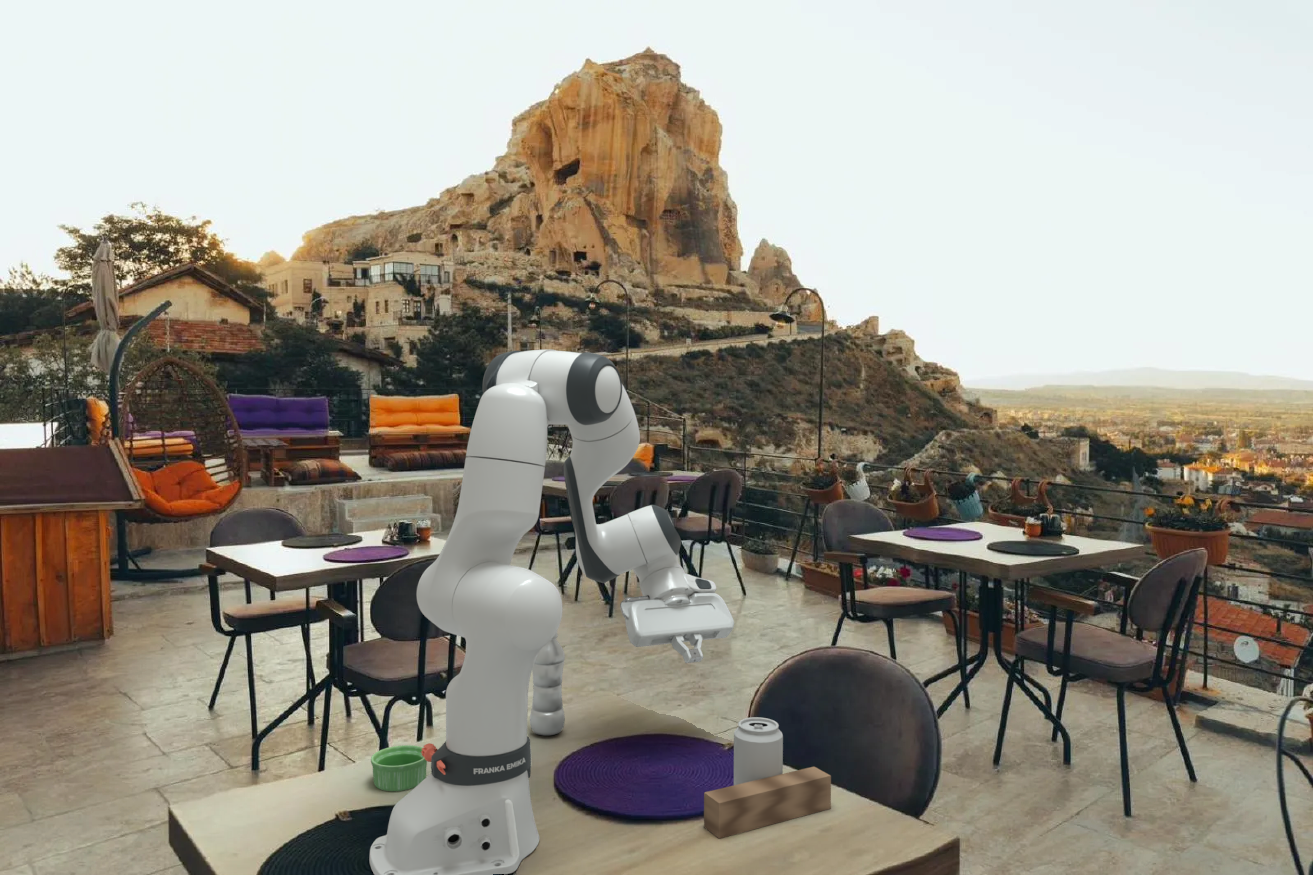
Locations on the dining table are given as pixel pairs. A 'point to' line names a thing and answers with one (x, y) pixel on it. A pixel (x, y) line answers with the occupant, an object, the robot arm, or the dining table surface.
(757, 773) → the can
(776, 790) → the wooden block
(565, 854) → the dining table surface
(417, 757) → the ramekin
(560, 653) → the plastic bottle
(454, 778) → the robot arm
